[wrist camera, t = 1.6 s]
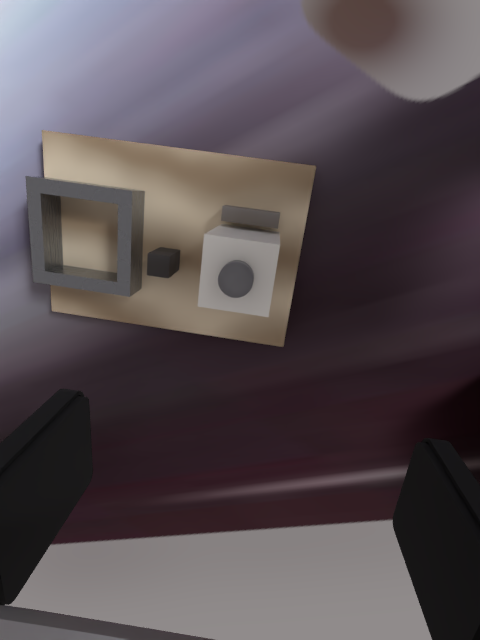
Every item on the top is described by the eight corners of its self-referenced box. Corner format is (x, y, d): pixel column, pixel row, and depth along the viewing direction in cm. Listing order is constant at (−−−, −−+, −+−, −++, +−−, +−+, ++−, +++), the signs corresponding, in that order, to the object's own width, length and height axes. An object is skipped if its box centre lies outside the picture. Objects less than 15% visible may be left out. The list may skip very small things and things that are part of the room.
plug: (221, 223, 28) (200, 236, 20) (279, 231, 27) (280, 247, 20) (215, 280, 29) (194, 311, 22) (270, 288, 29) (267, 322, 21)
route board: (53, 133, 28) (13, 122, 24) (314, 167, 27) (321, 162, 23) (61, 305, 33) (29, 322, 29) (282, 340, 32) (283, 362, 28)
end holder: (47, 177, 28) (25, 176, 25) (144, 190, 27) (132, 190, 25) (52, 275, 30) (33, 282, 28) (141, 288, 30) (129, 296, 28)
